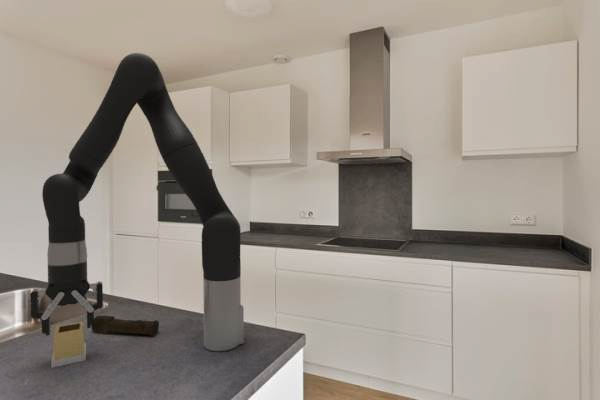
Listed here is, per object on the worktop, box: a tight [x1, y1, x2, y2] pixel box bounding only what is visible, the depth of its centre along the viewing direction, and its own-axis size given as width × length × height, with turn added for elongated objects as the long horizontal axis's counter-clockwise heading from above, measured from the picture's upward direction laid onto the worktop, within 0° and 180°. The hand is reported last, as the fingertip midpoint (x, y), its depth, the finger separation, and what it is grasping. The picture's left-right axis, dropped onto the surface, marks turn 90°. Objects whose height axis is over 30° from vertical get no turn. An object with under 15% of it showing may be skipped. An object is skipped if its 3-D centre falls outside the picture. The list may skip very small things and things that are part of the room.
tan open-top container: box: [53, 321, 85, 359], centre depth 80 cm, size 6×6×6 cm
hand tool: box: [91, 315, 160, 338], centre depth 94 cm, size 19×4×5 cm, turn 81°
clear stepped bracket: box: [50, 342, 87, 369], centre depth 84 cm, size 6×17×5 cm, turn 31°
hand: (69, 330), depth 79 cm, fingers open, 7 cm apart
